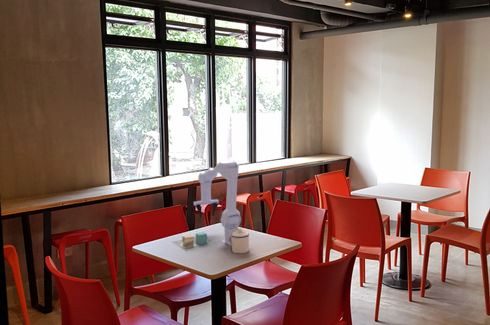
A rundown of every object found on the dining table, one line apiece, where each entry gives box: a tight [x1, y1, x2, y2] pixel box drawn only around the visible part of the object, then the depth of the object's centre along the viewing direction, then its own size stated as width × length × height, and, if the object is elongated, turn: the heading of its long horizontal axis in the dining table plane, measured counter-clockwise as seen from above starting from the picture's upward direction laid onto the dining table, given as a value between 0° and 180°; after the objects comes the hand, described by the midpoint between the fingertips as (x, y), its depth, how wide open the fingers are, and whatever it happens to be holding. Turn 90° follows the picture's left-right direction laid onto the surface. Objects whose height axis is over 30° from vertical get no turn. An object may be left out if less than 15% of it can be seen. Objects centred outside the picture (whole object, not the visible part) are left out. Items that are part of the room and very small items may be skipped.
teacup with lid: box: [229, 227, 250, 254], centre depth 234 cm, size 12×9×12 cm
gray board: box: [171, 236, 218, 252], centre depth 247 cm, size 20×18×1 cm
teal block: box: [195, 231, 208, 244], centre depth 248 cm, size 4×4×5 cm
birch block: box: [181, 234, 194, 247], centre depth 244 cm, size 4×4×5 cm
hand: (206, 216), depth 268 cm, fingers open, 7 cm apart
